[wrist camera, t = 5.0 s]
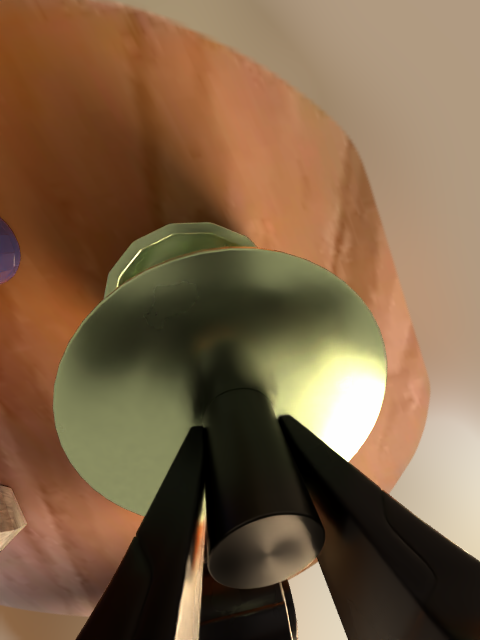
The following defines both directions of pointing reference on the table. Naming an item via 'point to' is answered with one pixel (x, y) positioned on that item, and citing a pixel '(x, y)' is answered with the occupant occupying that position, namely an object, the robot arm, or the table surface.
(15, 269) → the cup
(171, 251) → the pot
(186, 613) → the robot arm
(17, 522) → the paper boat
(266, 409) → the lid
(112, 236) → the table surface
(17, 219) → the table surface
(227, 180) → the table surface
